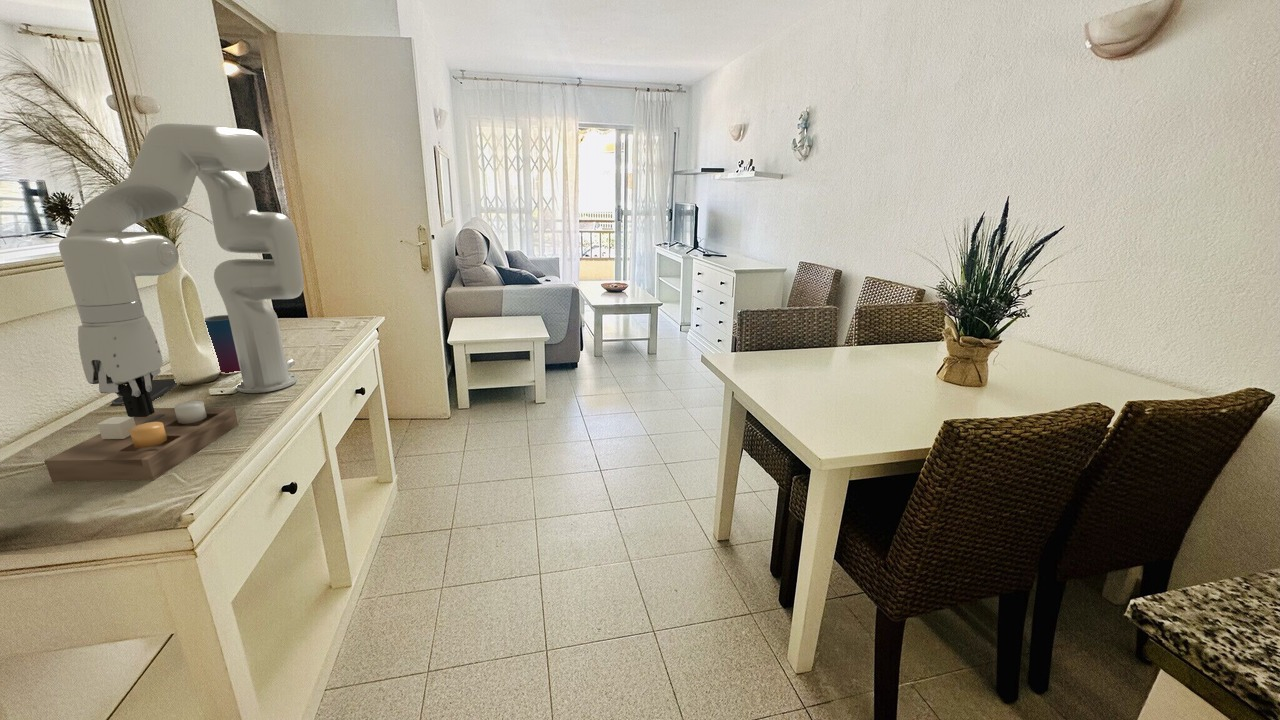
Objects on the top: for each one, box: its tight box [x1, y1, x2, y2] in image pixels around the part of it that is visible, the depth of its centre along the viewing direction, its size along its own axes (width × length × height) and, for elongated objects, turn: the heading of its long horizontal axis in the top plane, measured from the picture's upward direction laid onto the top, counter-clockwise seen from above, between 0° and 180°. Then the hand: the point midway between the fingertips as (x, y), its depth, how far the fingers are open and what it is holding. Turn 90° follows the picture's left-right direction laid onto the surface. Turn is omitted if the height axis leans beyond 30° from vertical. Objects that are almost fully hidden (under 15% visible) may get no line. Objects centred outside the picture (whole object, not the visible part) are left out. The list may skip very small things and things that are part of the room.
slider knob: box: [97, 416, 136, 439], centre depth 94 cm, size 3×4×3 cm
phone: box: [111, 378, 178, 406], centre depth 124 cm, size 8×1×15 cm
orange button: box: [129, 422, 167, 448], centre depth 92 cm, size 4×4×3 cm
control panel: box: [44, 407, 239, 483], centre depth 97 cm, size 22×16×4 cm
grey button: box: [173, 400, 207, 424], centre depth 101 cm, size 4×4×3 cm
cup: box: [204, 314, 241, 373], centre depth 137 cm, size 7×7×15 cm
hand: (141, 415), depth 90 cm, fingers closed
